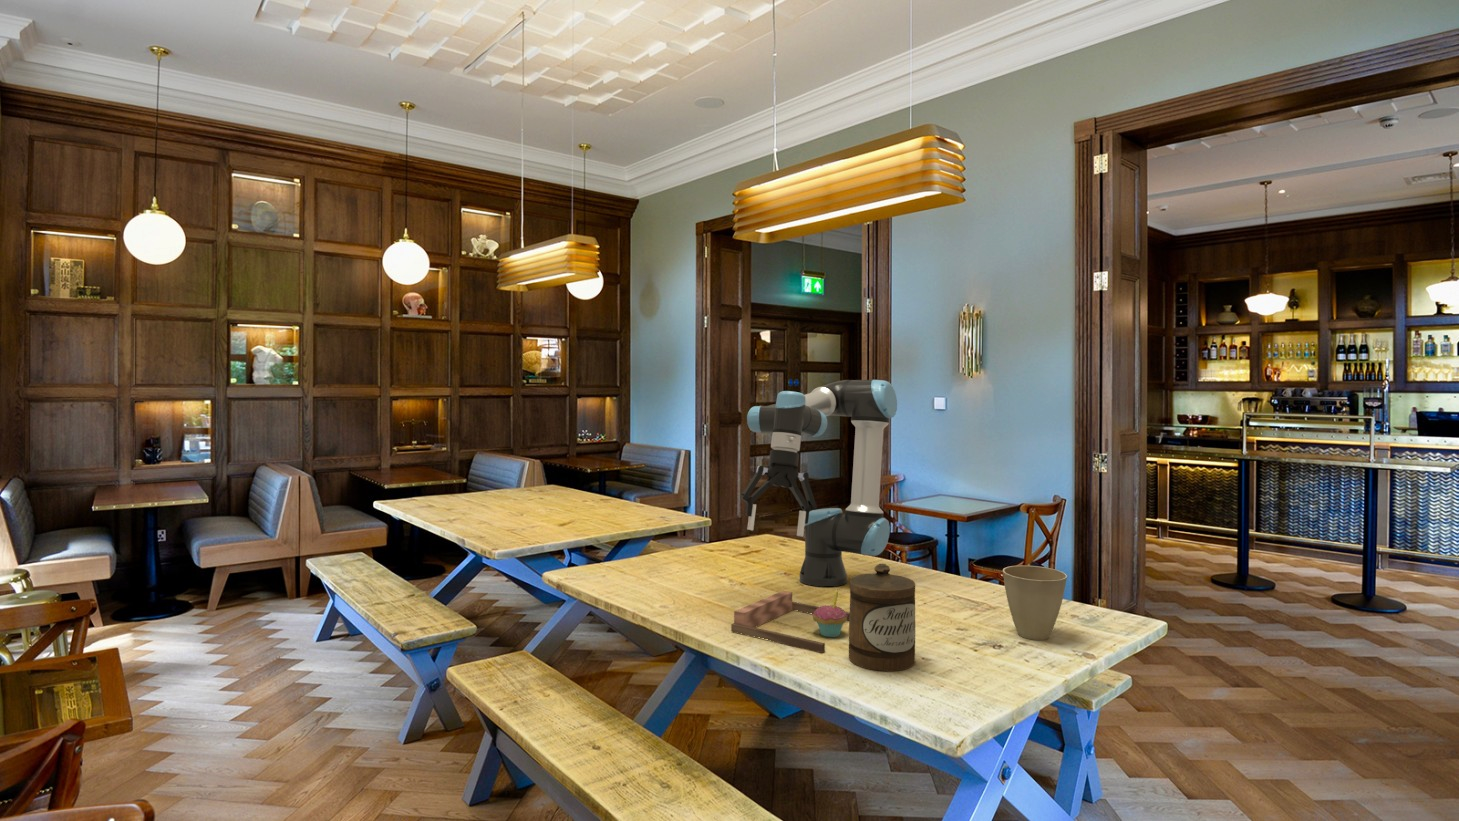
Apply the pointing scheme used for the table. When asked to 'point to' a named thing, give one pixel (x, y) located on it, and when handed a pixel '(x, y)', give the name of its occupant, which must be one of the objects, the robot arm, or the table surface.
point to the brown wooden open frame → (769, 610)
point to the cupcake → (830, 618)
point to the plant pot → (1034, 599)
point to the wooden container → (882, 621)
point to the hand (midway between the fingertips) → (775, 533)
